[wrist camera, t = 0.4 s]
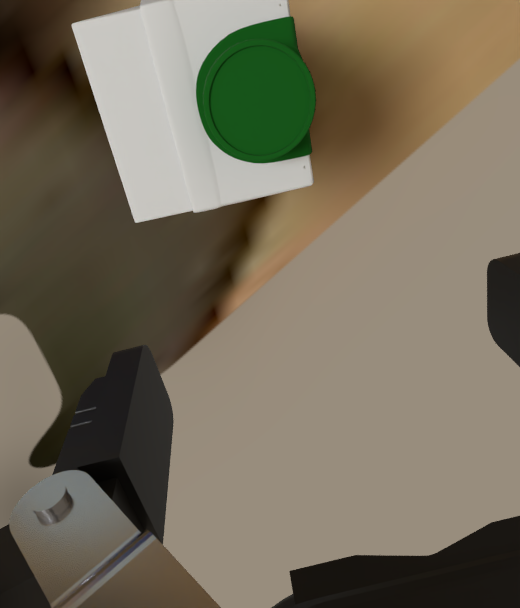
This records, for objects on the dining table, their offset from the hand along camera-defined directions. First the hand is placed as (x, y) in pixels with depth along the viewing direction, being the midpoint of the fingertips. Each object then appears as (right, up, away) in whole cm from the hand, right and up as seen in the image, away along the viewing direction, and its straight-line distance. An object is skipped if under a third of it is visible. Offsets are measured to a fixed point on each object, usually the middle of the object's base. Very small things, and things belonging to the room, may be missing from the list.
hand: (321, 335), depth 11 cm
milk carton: (-6, +16, +24) cm, 29 cm away
